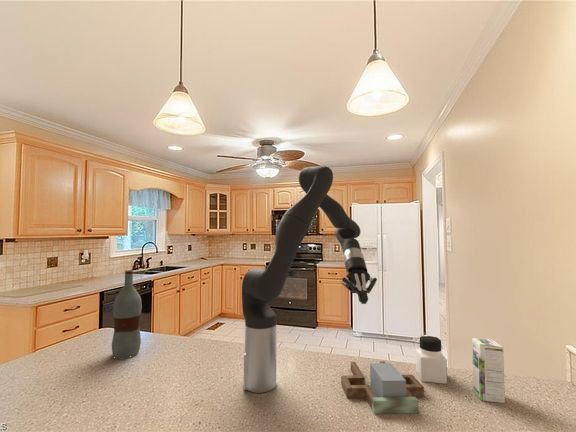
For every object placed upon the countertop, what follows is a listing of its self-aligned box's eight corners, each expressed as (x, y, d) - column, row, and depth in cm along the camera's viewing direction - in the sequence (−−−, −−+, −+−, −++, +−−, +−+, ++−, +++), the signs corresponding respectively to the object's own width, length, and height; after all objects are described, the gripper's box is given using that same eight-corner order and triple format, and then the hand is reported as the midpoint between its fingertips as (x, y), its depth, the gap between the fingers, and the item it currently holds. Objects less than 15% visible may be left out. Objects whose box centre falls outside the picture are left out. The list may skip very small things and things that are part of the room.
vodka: (136, 347, 113) (139, 268, 114) (143, 354, 106) (146, 270, 108) (108, 353, 106) (111, 270, 108) (114, 362, 99) (117, 273, 101)
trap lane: (353, 414, 71) (353, 401, 71) (335, 370, 94) (335, 360, 94) (438, 412, 72) (438, 399, 72) (399, 369, 95) (399, 359, 95)
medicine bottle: (447, 384, 85) (446, 342, 86) (421, 381, 87) (420, 340, 87) (440, 373, 92) (439, 334, 93) (416, 370, 94) (415, 332, 94)
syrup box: (472, 389, 82) (470, 337, 83) (495, 392, 81) (493, 338, 82) (481, 401, 77) (479, 344, 78) (506, 403, 76) (504, 346, 76)
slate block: (382, 409, 73) (382, 380, 74) (370, 388, 83) (370, 363, 84) (406, 409, 73) (405, 380, 74) (391, 388, 83) (391, 362, 84)
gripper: (338, 255, 109) (346, 296, 96) (374, 256, 109) (386, 296, 96) (336, 268, 114) (343, 308, 101) (369, 268, 114) (381, 308, 101)
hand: (364, 302), depth 98 cm, fingers closed
